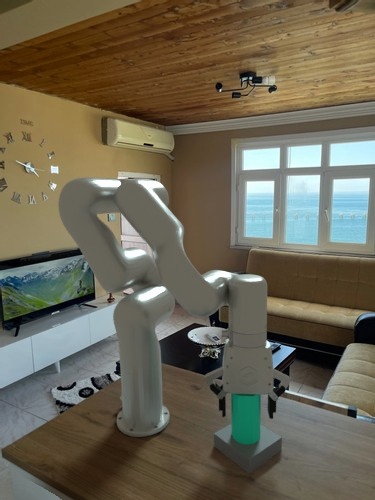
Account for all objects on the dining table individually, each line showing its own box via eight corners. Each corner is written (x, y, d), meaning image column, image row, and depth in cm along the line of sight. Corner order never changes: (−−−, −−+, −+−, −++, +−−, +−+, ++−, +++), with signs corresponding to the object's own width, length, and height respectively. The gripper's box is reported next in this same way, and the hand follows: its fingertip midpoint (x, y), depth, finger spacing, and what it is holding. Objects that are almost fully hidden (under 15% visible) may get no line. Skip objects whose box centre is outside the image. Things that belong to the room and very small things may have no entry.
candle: (260, 446, 73) (260, 390, 71) (230, 442, 74) (230, 388, 72) (260, 427, 78) (260, 375, 77) (232, 424, 80) (232, 373, 78)
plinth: (214, 446, 77) (213, 433, 77) (246, 427, 83) (246, 415, 83) (249, 473, 69) (249, 459, 69) (281, 450, 76) (281, 437, 75)
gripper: (203, 343, 70) (204, 423, 72) (295, 344, 68) (292, 427, 71) (205, 328, 77) (206, 402, 80) (287, 329, 76) (285, 405, 78)
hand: (246, 414), depth 75 cm, fingers open, 9 cm apart
